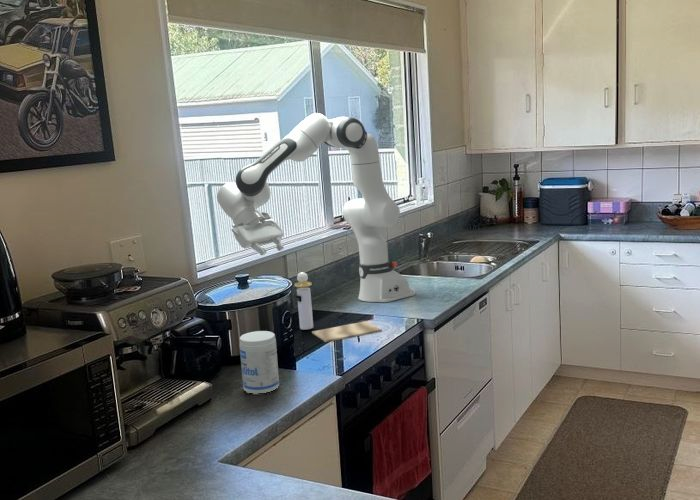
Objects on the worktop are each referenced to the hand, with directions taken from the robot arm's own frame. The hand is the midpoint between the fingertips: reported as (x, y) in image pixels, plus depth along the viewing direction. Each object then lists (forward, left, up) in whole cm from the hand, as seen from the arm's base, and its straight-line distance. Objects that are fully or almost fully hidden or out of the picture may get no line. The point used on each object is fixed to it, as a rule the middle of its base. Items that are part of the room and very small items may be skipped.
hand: (273, 251), depth 237 cm
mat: (-16, +21, -27) cm, 38 cm away
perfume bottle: (-6, +10, -27) cm, 29 cm away
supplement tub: (+23, +54, -27) cm, 64 cm away
